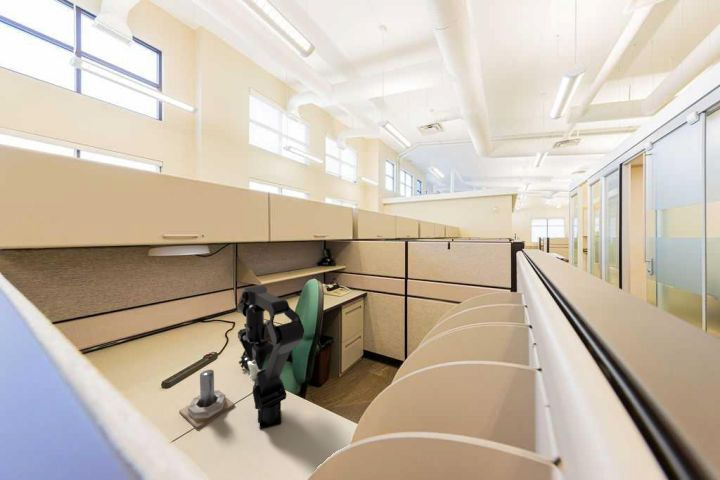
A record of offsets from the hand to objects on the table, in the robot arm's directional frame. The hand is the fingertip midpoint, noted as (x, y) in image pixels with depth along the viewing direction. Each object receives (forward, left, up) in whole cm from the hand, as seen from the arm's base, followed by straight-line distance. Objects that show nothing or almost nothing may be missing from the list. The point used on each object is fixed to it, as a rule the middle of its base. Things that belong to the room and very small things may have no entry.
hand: (255, 363), depth 91 cm
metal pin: (+15, +1, -12) cm, 19 cm away
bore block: (+15, +1, -13) cm, 20 cm away
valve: (+2, -16, -13) cm, 21 cm away
